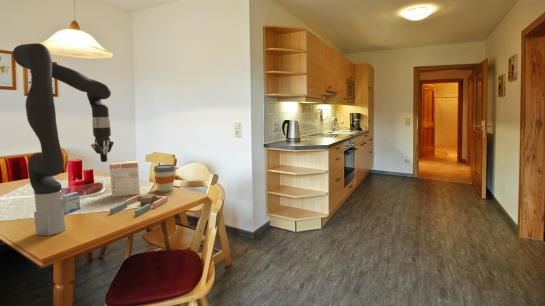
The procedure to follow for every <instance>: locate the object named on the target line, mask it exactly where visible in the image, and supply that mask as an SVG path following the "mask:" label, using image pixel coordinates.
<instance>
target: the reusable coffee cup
mask: <svg viewBox="0 0 545 306" xmlns="http://www.w3.org/2000/svg"><path fill="white" fill-rule="evenodd" d="M175 167H176V166H175V164H157V165H155V166H153V172H154V180H155V183H156V186H157V191H159V192H170V191H172V190H174V182H175V178H176V177H175V175H176V174H175V170H176V168H175Z"/></svg>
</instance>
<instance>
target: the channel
mask: <svg viewBox="0 0 545 306" xmlns="http://www.w3.org/2000/svg"><path fill="white" fill-rule="evenodd" d="M128 206H129V205H128ZM128 206H127V202H124V201H123V202H122V203H119V204H117V205H116V206H112V207H111V208H110V209H109V214H110V215H114V214H115V213H116V214H117V213H118V212H120V211H122V210H124V209H127V208H128ZM126 207H127V208H126ZM151 209H152V204H144V205H143V206H141V207H139V208H137V209H135V210H134V216H136V217H139V216H140V215H142V214H144V213H146V212H147V211H149V210H151Z"/></svg>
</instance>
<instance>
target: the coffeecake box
mask: <svg viewBox="0 0 545 306" xmlns="http://www.w3.org/2000/svg"><path fill="white" fill-rule="evenodd" d="M109 174H110V177H109V178H110V187H111V197H112V198H117V197H125V196H126V197H127V196H137V195H141V193H140V192H141V191H140V189H141V188H140V187H141V186H140V177H139V163H138V160H131V161H130V160H129V161H118V162H117V161H115V162H110V163H109Z"/></svg>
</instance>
